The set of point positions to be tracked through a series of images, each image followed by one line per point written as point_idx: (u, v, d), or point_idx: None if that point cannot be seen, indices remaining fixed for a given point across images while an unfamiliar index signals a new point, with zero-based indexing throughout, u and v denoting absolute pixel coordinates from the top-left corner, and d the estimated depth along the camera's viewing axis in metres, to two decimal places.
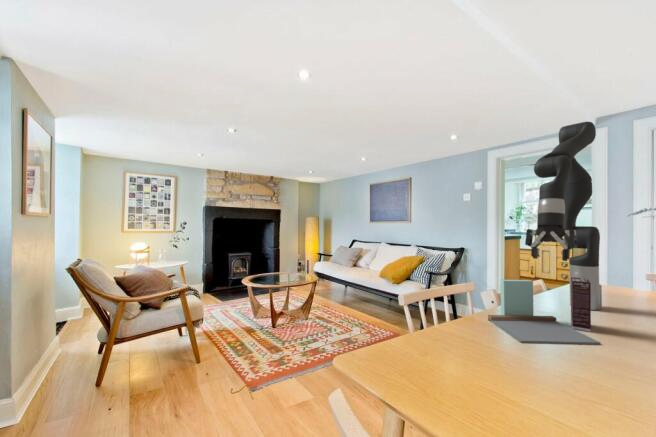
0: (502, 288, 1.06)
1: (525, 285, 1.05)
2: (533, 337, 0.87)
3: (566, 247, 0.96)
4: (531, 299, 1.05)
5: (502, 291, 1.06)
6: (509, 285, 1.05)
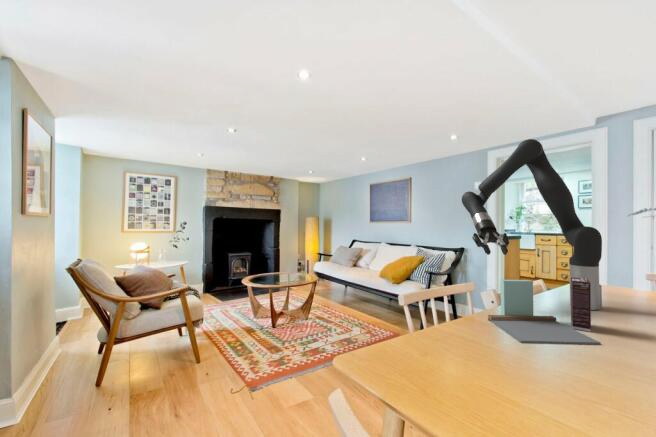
0: (502, 288, 1.06)
1: (525, 285, 1.05)
2: (533, 337, 0.87)
3: None
4: (531, 299, 1.05)
5: (502, 291, 1.07)
6: (509, 285, 1.05)
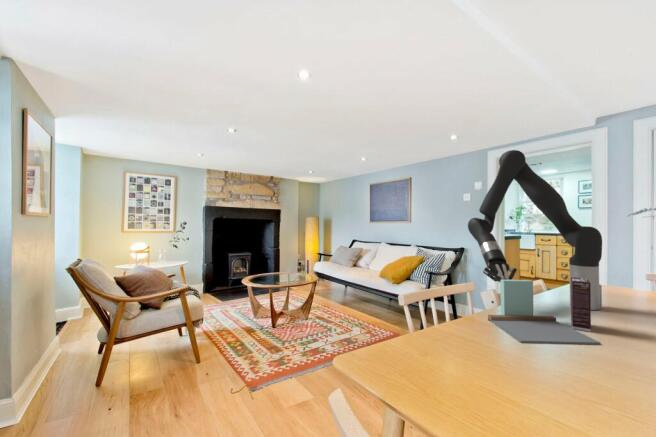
0: (502, 288, 1.06)
1: (525, 285, 1.05)
2: (533, 337, 0.87)
3: None
4: (531, 299, 1.05)
5: (502, 291, 1.06)
6: (509, 285, 1.05)
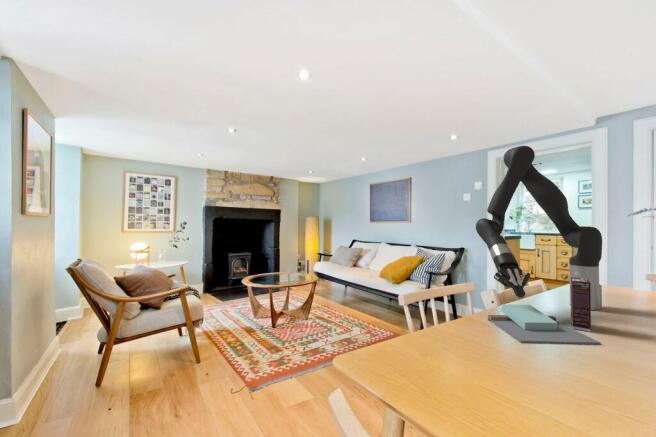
0: (519, 322, 0.97)
1: None
2: (533, 337, 0.87)
3: None
4: None
5: (517, 320, 0.98)
6: None
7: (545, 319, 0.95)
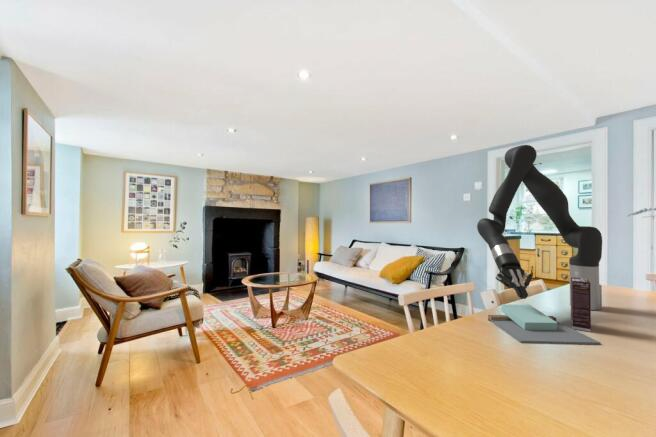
0: (519, 322, 0.97)
1: None
2: (533, 337, 0.87)
3: None
4: None
5: (517, 320, 0.98)
6: None
7: (545, 319, 0.95)
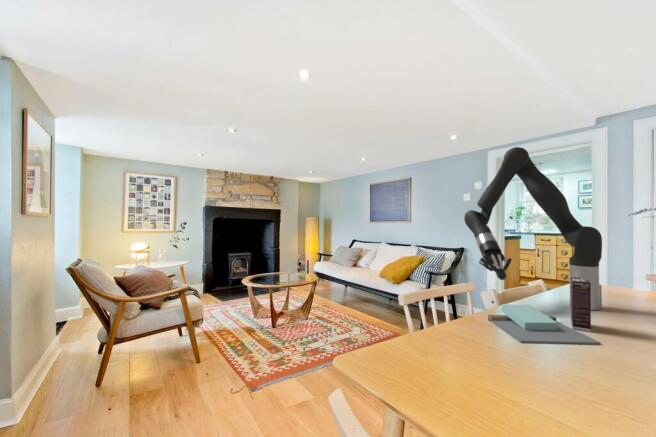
0: (519, 322, 0.97)
1: None
2: (533, 337, 0.87)
3: None
4: None
5: (517, 320, 0.98)
6: None
7: (545, 319, 0.95)
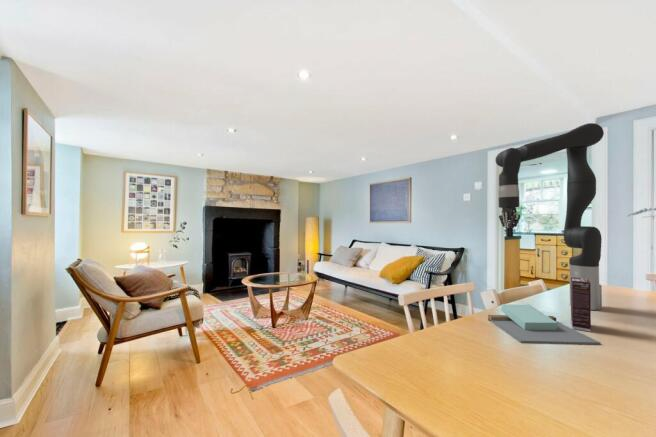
0: (519, 322, 0.97)
1: None
2: (533, 337, 0.87)
3: (507, 227, 1.23)
4: None
5: (517, 320, 0.98)
6: None
7: (545, 319, 0.95)
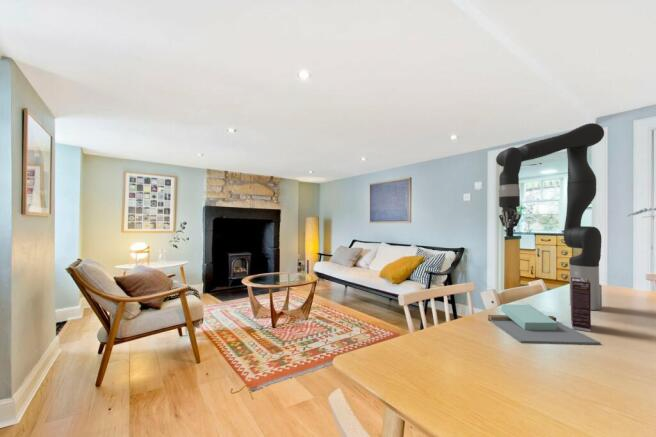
0: (519, 322, 0.97)
1: None
2: (533, 337, 0.87)
3: (508, 226, 1.22)
4: None
5: (517, 320, 0.98)
6: None
7: (545, 319, 0.95)
